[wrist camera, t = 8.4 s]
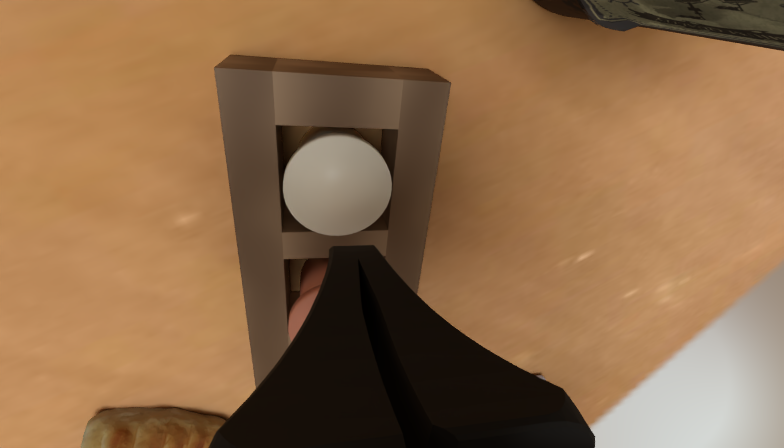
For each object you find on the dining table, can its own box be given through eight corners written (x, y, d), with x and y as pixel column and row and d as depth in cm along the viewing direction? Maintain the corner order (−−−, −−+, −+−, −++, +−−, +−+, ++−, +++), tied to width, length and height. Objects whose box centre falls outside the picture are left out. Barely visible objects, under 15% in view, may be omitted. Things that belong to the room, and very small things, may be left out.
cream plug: (380, 113, 19) (396, 139, 16) (374, 196, 21) (387, 234, 18) (284, 109, 18) (280, 135, 15) (288, 196, 20) (285, 237, 17)
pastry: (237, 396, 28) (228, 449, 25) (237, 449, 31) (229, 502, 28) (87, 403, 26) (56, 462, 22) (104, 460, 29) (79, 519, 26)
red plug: (376, 239, 21) (389, 286, 18) (370, 303, 23) (381, 355, 20) (289, 242, 20) (286, 292, 17) (292, 308, 22) (290, 364, 19)
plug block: (428, 68, 19) (451, 82, 16) (388, 372, 29) (397, 414, 27) (230, 54, 17) (214, 67, 14) (266, 385, 28) (261, 431, 25)
